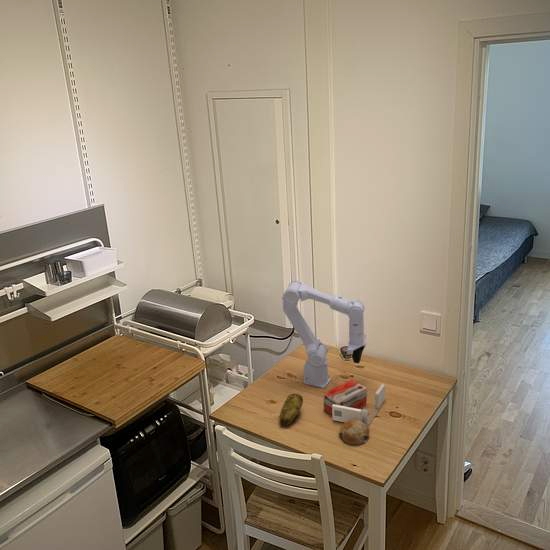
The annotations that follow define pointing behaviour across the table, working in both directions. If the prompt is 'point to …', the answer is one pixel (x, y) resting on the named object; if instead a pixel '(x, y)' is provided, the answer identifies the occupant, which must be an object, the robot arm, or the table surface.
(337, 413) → the door
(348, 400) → the medicine box
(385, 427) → the table surface
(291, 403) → the olive-green oval lump
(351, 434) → the bread roll
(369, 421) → the white upright panel
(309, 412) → the table surface
